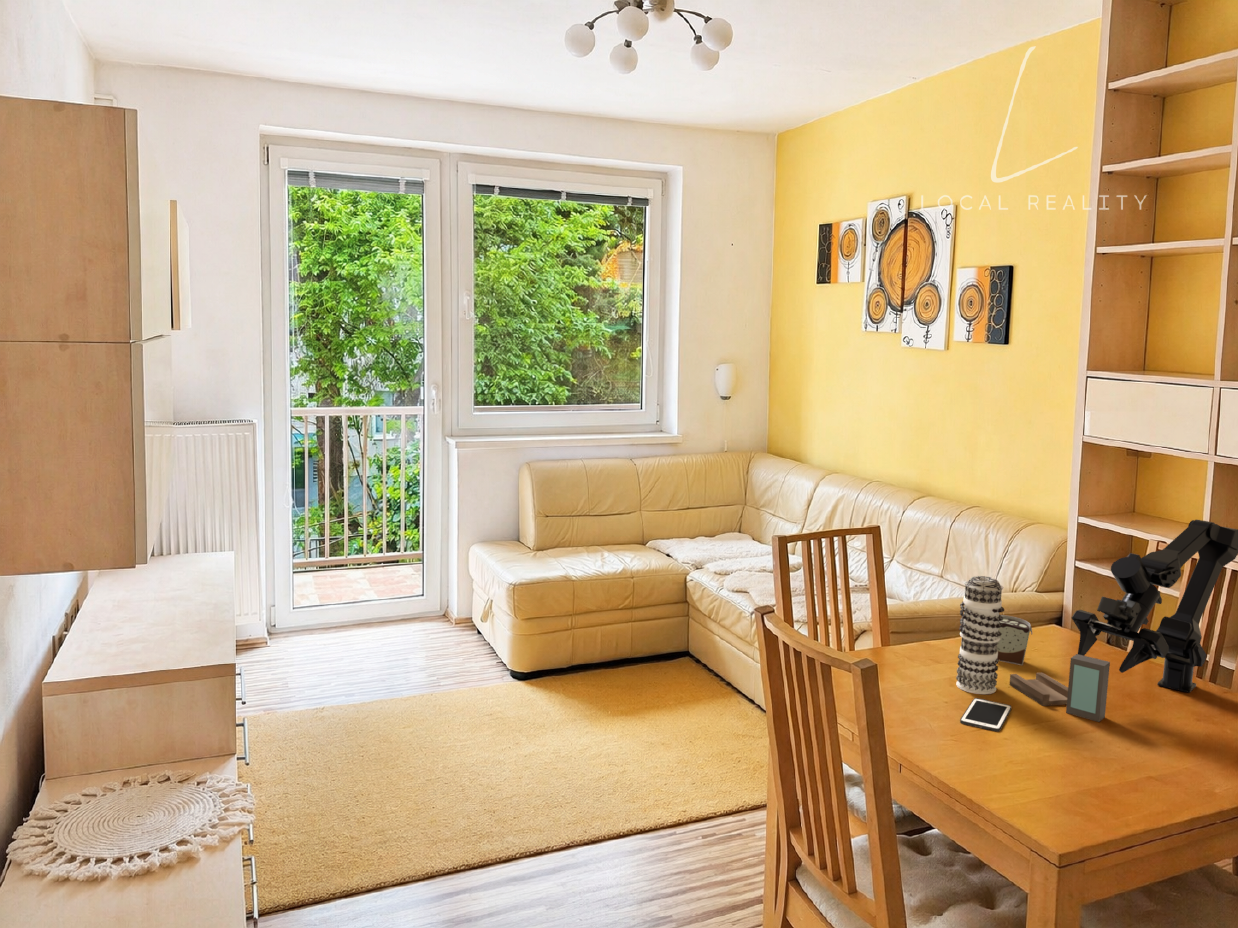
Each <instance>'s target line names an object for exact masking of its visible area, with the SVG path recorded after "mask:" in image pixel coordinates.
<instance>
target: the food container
mask: <svg viewBox="0 0 1238 928" xmlns="http://www.w3.org/2000/svg"><path fill="white" fill-rule="evenodd" d="M1000 615H1001V616H1002V617H1003V620H1001V621H999V622H1000V623H1002V627H1000V628H998V631H999V632H1001V636H999V637H1000V640H999V642H998V645H997V651H998V657H997V659H998V660H999V661H998V662H1003V663H1008V664H1012V665H1019V666H1022V667H1023V666H1024V662H1025V657H1026V653H1027V647H1028V643H1029V639H1030V638H1029V637H1030V634H1031V635H1033V629H1032V626H1031V623H1030V622H1029V621H1027V620H1025V619H1023V618H1020V617H1016V616H1012V615H1005V614H1000Z"/></svg>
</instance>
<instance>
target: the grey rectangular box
mask: <svg viewBox="0 0 1238 928" xmlns="http://www.w3.org/2000/svg"><path fill="white" fill-rule="evenodd" d="M1069 663H1070V665H1069V673H1068V674H1069V677H1068V686H1067V687H1068V696H1067V704H1066V708H1065V709H1066V710H1065V713H1066V714H1069V715H1072V716H1076V717H1078V718H1083V719H1087V720H1091V721H1093V722H1098V723H1100V722H1101V721H1102V720H1103V719H1105V716H1106V709H1107V708H1106V706H1107V698H1108V689H1109V676H1110V668H1111V667H1110V666H1111V661H1108V660H1103V659H1099V658H1095V657H1090V656H1086V655H1084V656H1083V655H1079V654H1078V653H1075V654H1074V655H1073V656H1072V657H1070V662H1069Z"/></svg>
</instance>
